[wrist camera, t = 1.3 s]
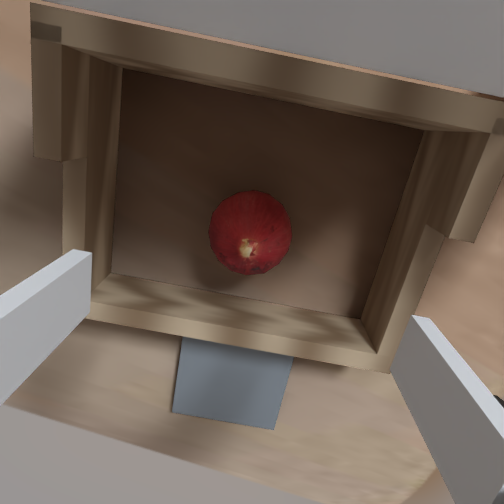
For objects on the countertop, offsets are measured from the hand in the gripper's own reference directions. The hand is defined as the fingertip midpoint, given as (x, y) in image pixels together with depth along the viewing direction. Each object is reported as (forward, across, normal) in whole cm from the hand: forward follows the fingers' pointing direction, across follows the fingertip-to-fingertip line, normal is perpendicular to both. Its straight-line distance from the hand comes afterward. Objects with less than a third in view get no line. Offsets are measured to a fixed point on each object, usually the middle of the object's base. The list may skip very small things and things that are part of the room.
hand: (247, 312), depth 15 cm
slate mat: (+15, 0, -15) cm, 21 cm away
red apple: (+15, 0, 0) cm, 15 cm away
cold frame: (+15, 0, +1) cm, 15 cm away
